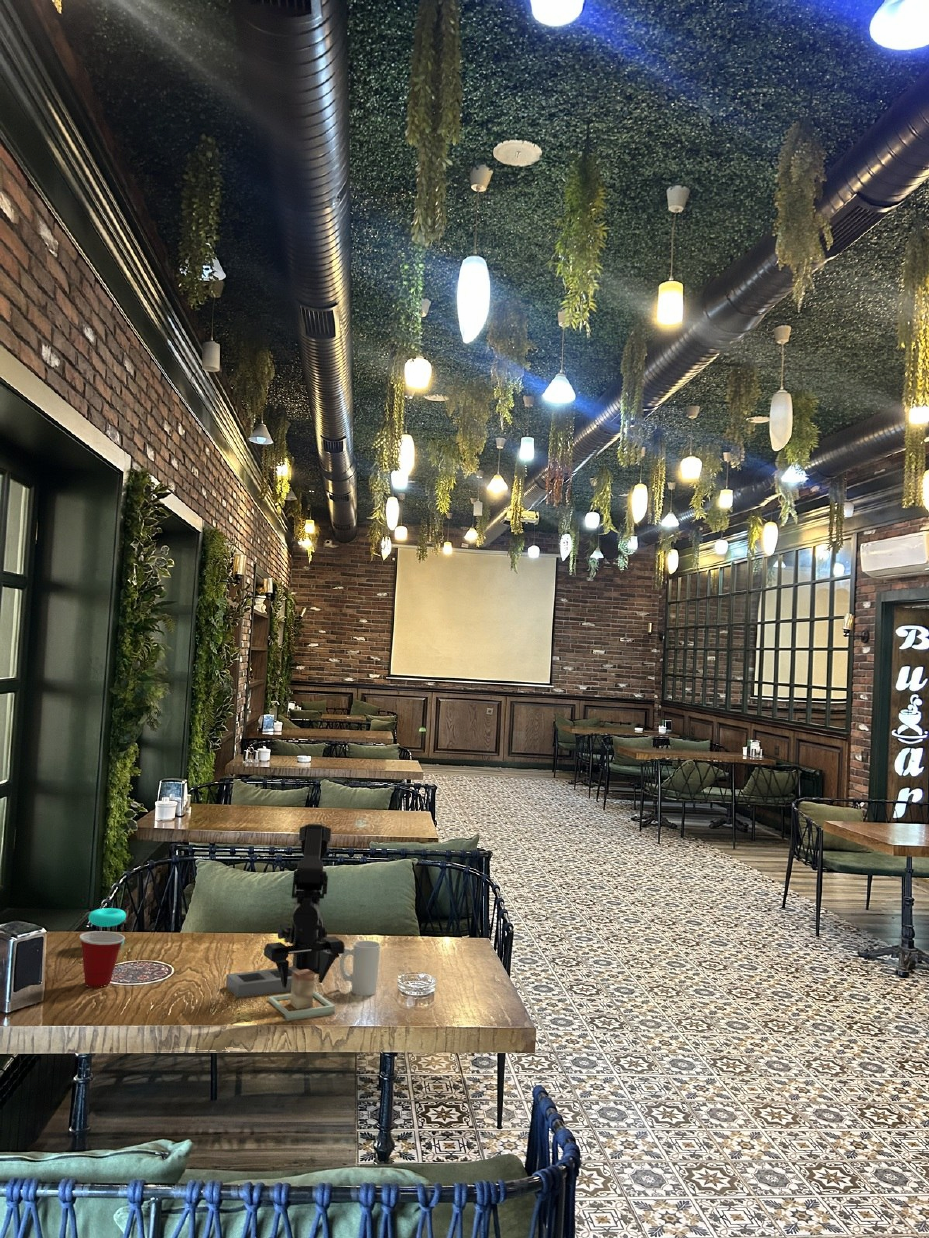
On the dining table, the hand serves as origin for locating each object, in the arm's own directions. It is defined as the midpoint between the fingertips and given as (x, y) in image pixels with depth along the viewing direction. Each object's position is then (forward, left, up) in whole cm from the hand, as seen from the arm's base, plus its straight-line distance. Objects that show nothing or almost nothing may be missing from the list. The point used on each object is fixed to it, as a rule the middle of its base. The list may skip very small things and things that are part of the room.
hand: (302, 984), depth 224 cm
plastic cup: (+39, -36, -6) cm, 53 cm away
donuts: (+31, -68, -6) cm, 75 cm away
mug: (-18, -6, -6) cm, 20 cm away
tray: (0, 0, -6) cm, 6 cm away
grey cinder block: (+3, -15, -6) cm, 16 cm away
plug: (0, 0, -5) cm, 5 cm away
